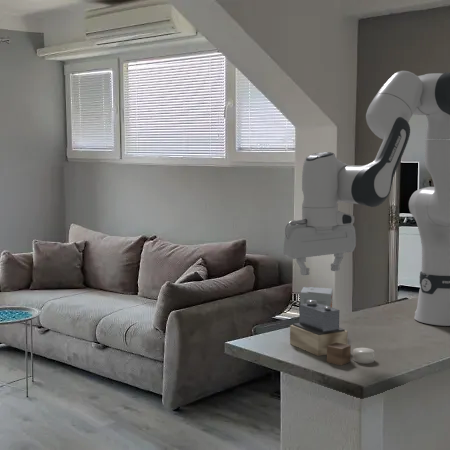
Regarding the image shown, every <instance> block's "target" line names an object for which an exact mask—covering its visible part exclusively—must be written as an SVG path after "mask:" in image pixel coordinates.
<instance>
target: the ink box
mask: <svg viewBox="0 0 450 450" xmlns="http://www.w3.org/2000/svg"><path fill="white" fill-rule="evenodd" d="M333 290H334V289H333V287H331V288H330V287H329V288H327V287H315V286H309V287H308V286H303V287H302V289H301V291H300V297H299V298H300V302H299V303H300V304H306V303H307V300H316V301H317V303H319V304H322V305H325V306H330V307H332V308H333ZM300 304H299V305H300Z"/></svg>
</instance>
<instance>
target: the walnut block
mask: <svg viewBox="0 0 450 450" xmlns="http://www.w3.org/2000/svg"><path fill="white" fill-rule="evenodd" d="M351 350H352V349H351V345H350V344H347V345H346V344H341V343H333V344H331V345H328V346H327V355H326V362H327V363H328V364H334V365H338V366H343V365H346V364H348V363H351Z"/></svg>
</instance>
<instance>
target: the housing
mask: <svg viewBox="0 0 450 450" xmlns="http://www.w3.org/2000/svg"><path fill="white" fill-rule="evenodd" d="M298 318H299V319H298V321H299V322H298V323H300V324H302V325H305V326H308V327H310V328H313V329H316V330H318V331H321V332H328V331H334V330H339V328H340V309H337V308H335V307H333V306H332V307H330V306H325V305H322V304H319V303H317V301H316V300H307V303H306V304H299V317H298Z"/></svg>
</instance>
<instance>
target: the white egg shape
mask: <svg viewBox="0 0 450 450" xmlns="http://www.w3.org/2000/svg"><path fill="white" fill-rule="evenodd" d="M352 351H353V354H352V360H353V362H356V363H357V364H364V365H365V364H373V363H374V362H375V352H376V351H375V350H374V349H372V348H370V347H356V348H353V349H352Z"/></svg>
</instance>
